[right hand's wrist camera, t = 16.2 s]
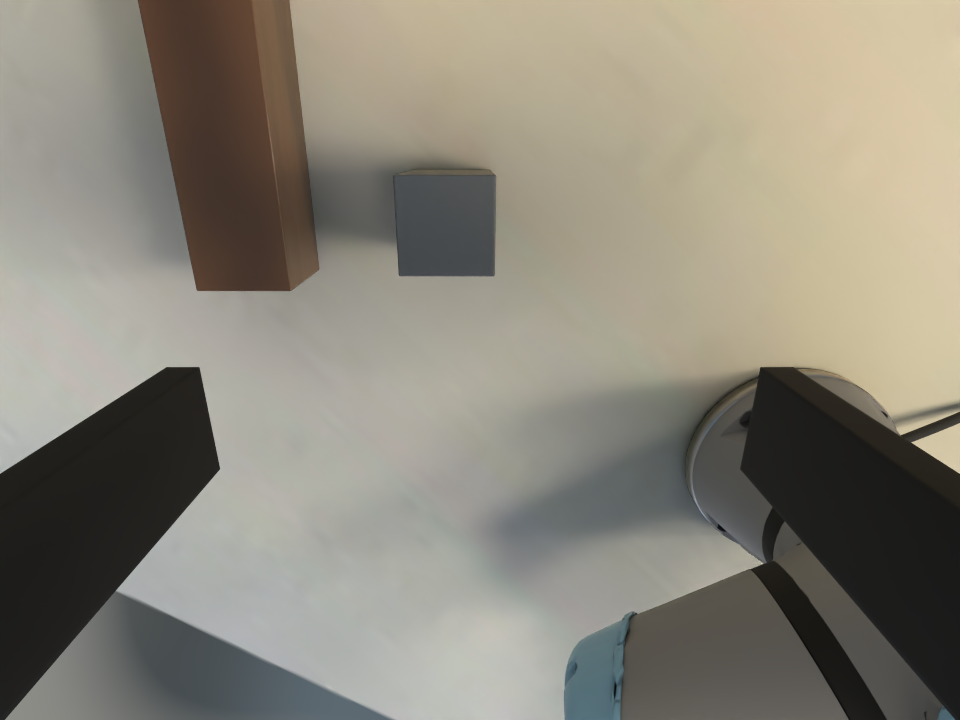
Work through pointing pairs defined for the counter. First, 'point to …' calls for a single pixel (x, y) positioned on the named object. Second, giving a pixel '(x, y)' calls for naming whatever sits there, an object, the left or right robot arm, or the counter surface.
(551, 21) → the counter surface
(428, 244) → the grey block
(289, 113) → the walnut rail
